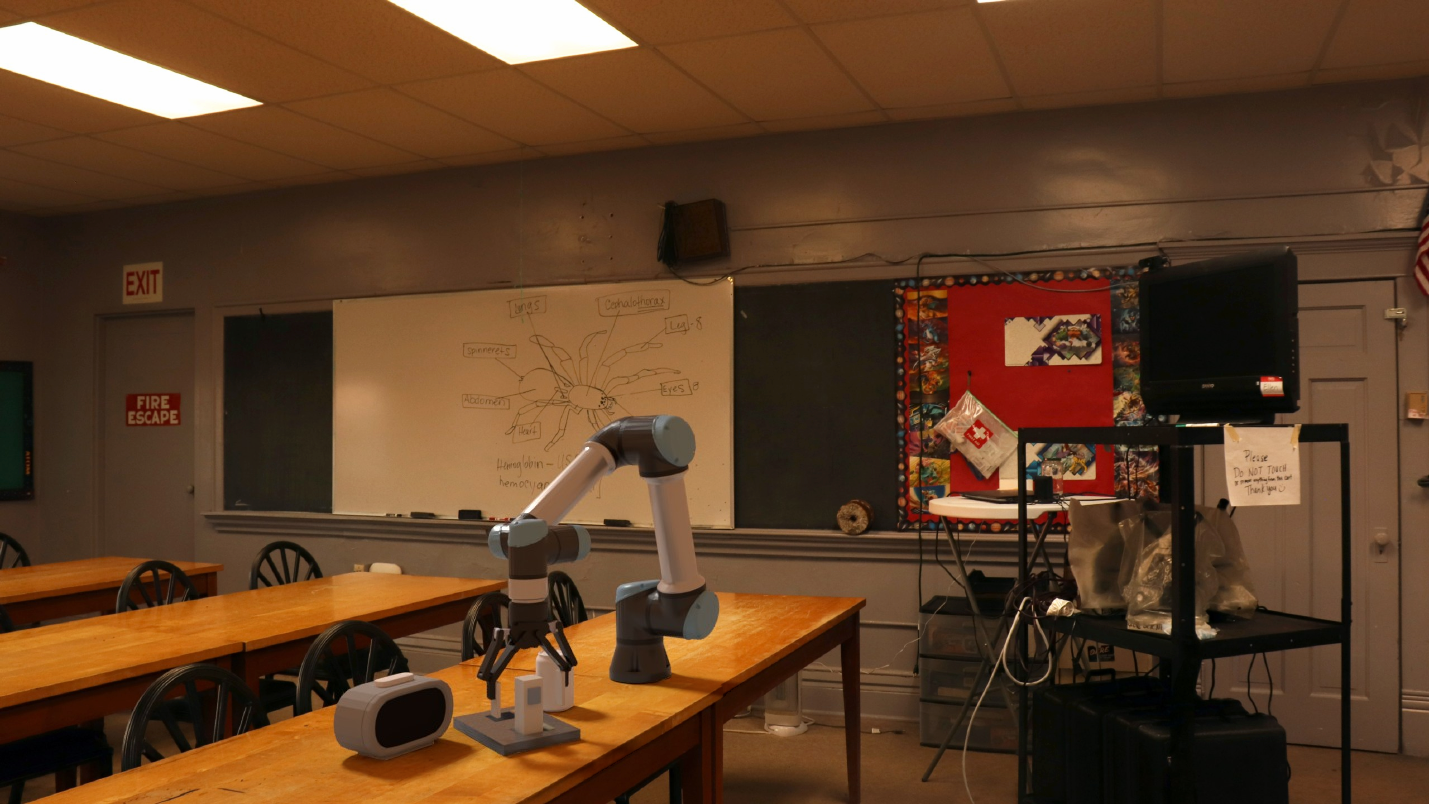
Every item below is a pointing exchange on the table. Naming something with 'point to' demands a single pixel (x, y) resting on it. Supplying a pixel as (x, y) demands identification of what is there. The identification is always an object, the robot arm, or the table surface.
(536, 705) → the plug
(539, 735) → the panel
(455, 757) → the table surface
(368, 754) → the alarm clock
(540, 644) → the robot arm
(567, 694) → the beverage can
